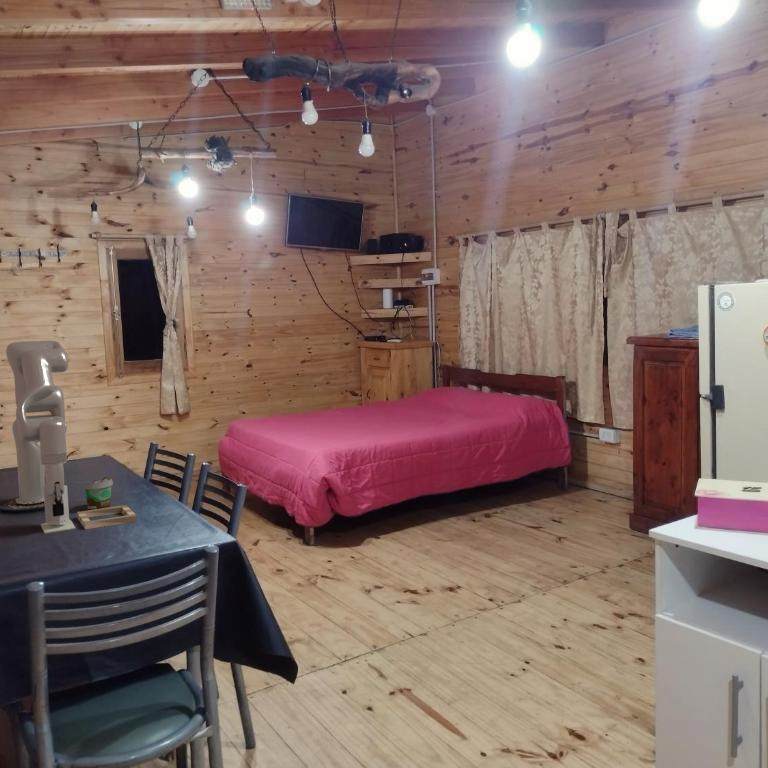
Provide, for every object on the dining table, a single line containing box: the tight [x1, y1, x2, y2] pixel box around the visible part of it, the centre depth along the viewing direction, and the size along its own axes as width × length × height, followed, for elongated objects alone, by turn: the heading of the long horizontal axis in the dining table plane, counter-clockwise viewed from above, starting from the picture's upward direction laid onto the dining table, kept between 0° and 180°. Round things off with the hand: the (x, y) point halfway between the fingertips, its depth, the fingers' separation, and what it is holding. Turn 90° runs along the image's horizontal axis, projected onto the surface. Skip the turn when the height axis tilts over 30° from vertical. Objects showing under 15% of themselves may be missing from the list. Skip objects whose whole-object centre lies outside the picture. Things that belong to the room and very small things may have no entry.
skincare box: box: [43, 484, 70, 525], centre depth 232 cm, size 6×4×12 cm
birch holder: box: [76, 504, 138, 530], centre depth 240 cm, size 16×16×2 cm
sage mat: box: [40, 519, 76, 534], centre depth 233 cm, size 11×9×1 cm
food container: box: [83, 475, 114, 511], centre depth 255 cm, size 12×6×10 cm, turn 168°
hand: (56, 512), depth 232 cm, fingers closed on skincare box, 7 cm apart
